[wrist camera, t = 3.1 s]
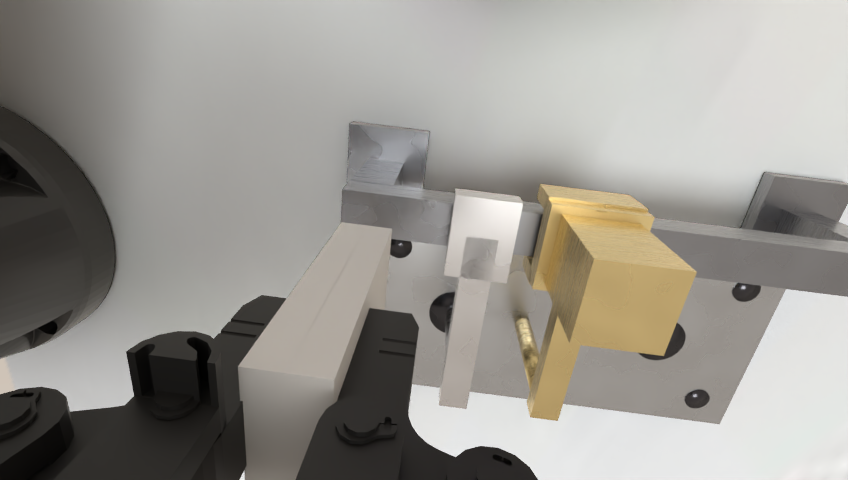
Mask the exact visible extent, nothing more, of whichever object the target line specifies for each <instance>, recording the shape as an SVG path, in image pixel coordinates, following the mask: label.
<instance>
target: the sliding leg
mask: <svg viewBox="0 0 848 480" xmlns="http://www.w3.org/2000/svg"><path fill="white" fill-rule="evenodd" d="M537 199H538V201H539V202H540V204H541V206H542V207H543V209H544V212H543V217H542V221H541V226H540V230H539V234H538V239H537V243H536V247H535V252H534V256H533V257H531V256H524V259H523V263H522V265H523V268H524V271H525V274H526V277H527V279H528V282H529V284H531V287H532V289H535V290H543V291H548V293H549V296H550V298H551V301H552V303H553V304H552V308H551V312H550V316H549V319H548V323H547V327H546V331H545V335H544V339H543V342H542V346H541V350H540V354H539V350H538V347H537V344H536V340H535V337H534V334H533V330H532V327H531V324H530V321H529V320H527V319H525V318H521V319H518V320H517V321H516V322H515V330H516V334H517V338H518V342H519V346H520V351H521V355H522V359H523V363H524V367H525V372H526V376H527V380H528V384H529V388H530V392H529V396H528V400H527V405H528V409H529V414H530V417H533V418H540V419H548V420H556V421H558V418H559V415H560V411H561V408H562V405H563V402H564V398H565V395H566V392H567V388H568V385H569V382H570V378H571V375H572V372H573V368H574V365H575V362H576V359H577V355H578V352H579V349H580V345H583V346H590V347H598V348H606V349H614V350H621V351H629V352H637V353H645V354H652V355H660V356H664V354H665V351H666V349H667V346H668V344H669V341H670V339H671V336H672V334H673V331H674V329H675V326H676V324H677V321H678V319H679V316H680V314H681V311H682V308H683V306H684V303H685V301H686V298H687V296H688V293H689V291H690V288H691V286H692V283H693V281H694V278H695V276H696V273H697V272H696V271H695V270H694V269H693V268H692V267H691V266H689V265H688V264H687V263H686V262H685V261H684V260H682V259H681V258H680V257H679V256H678V255H677V254H675V253H674V252H673V251H672V250H671V249H670V248H668V247H667V246H666V245H665V244H664V243H663V242H661V241H660V240H659V239H658V238H657V237H656V236H654V235H653V234H652V233H651V232H650V230H651V227H652V224H653V221H654V218H655V217H654V216H653V215H651V214H650V213H649V212H648V208H646V207H645V206H644V205H642V204H641V203H640V202H638V201H637V200H636V199H634V198H633V197H632V196H630V195H625V194H617V193H609V192H601V191H593V190H585V189H577V188H569V187H561V186H553V185H545V184H540V186H539V191H538V195H537Z"/></svg>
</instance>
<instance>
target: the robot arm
mask: <svg viewBox="0 0 848 480" xmlns="http://www.w3.org/2000/svg"><path fill="white" fill-rule="evenodd" d="M391 236H392V229H391V228H383V227H375V226H368V225H360V224H352V223H344V222H341V224H340V225H339V226H338V228H337V229H336V231H335V232H334V233H333V235H332V236H331V238H330V239H329V240H328V242H327V243H326V244H325V246H324V247H323V249H322V250H321V251H320V253H319V254H318V256H317V257H316V258H315V260H314V261H313V263H312V264H311V265H310V267H309V268H308V270H307V271H306V272H305V274H304V275H303V277H302V278H301V279H300V281H299V282H298V284H297V285H296V286H295V288H294V289H293V290H292V292H291V293H290V295H289V296H288V297H287V299H286V298H279V297H271V296H264V295H261V296H260V297H258V298H256V299H254V300H252V301H250V302H249V303H247V304H245V305H243V306H242V307H241V309H240V310H239V311H238V312H237V313H236V314H235V315H234V316H233V318H232V319H231V322H228V323H227V324H226V326H225V327H224V328H223V329H222V330H221V334H218V335H217V336H216V337H215V338H214V339H213V338H212V337H211V336H209V335H206V334H202V333H198V332H182V331H178V332H172V333H167V334H161V335H158V336H155V337H152V338H150V339H147V340H145V341H142V342H140V343H139V344H137V345H136V346H134V347H133V348H131V349H130V350H128V351H126V353H127V358H128V364H129V369H130V375H131V380H132V386H133V391H134V397H133V398H132V399H131V400H130V401H129V402H128V403H127V404H126V405H124V406H119V407H111V408H102V409H92V410H83V411H73V412H70V410H69V406H68V402H67V398H66V396H64V395H63V394H62V393H61V392H59V391H58V390H55V389H50V388H44V387H36V388H25V389H18V390H15V391H11V392H8V393H4V394H0V480H239V479H240V477H241V475H242V473H243V471H244V470H245V480H538V479H537V478H536V476H535V475H534V473H533V472H532V470H531V469H530V467H529V466H527V465H526V464H525V463H524V462H523V461H521V460H520V459H519V458H518V457H516V456H515V455H513V454H511V453H508V452H506V451H504V450H501V449H499V448H493V447H484V446H479V447H475V448H471V449H467V450H465V451H463V452H462V453H461V454H459V455H458V456H457V457H453V456H451V455H449V454H447V453H444V452H442V451H440V450H438V449H436V448H434V447H433V446H431V445H429V444H427V443H426V442H425V441H424V440H423V439H422V438H421V437H419V436H418V434H417V433H416V432H415V430H414V429H413V427H412V425H411V423H410V420H409V417H408V409H409V402H410V394H411V387H412V379H413V372H414V364H415V356H416V348H417V340H418V332H419V326H418V324H417V322H416V320H415V319H414V317H413V315H412V314H411V313H404V312H396V311H388V310H385V302H386V291H387V280H388V269H389V258H390V247H391ZM114 265H115V253H114V243H113V238H112V233H111V229H110V226H109V222H108V220H107V217H106V214H105V212H104V210H103V207H102V205H101V203H100V201H99V199H98V197H97V195H96V194H95V192H94V190H93V189H92V187H91V185H90V184H89V182H88V181H87V179H86V178H85V176H84V175H83V174H82V172H81V171H80V170H79V169H78V167H77V166H76V165H75V164H74V163H73V161H72V160H71V159H70V158H69V157H68V156H67V155H66V154H65V153H64V152H63V151H62V149H60V148H59V147H58V146H57V145H56V144H55V143H54V142H53V141H52V140H51V139H50V138H48V137H47V136H46V135H45V134H44V133H42V132H41V131H40V130H38V129H37V128H36V127H34V126H33V125H31V124H30V123H29V122H27V121H26V120H24V119H22V118H21V117H19V116H17V115H16V114H14V113H12V112H10V111H9V110H7V109H5V108H3V107H1V106H0V359H1V358H4V357H7V356H10V355H13V354H16V353H19V352H22V351H25V350H29V349H32V348H35V347H37V346H40V345H43V344H45V343H47V342H49V341H51V340H53V339H55V338H57V337H59V336H60V335H62V334H63V333H65V332H66V331H68V330H69V329H71V328H72V327H74V326H75V325H76V324H78V323H79V322H81V321H82V320H84V319H85V318H86V317H88V316H89V315H90V314H91V313H93V312H94V311H95V310H96V309H97V308H98V306H99V305H100V304H101V303H102V301H103V300H104V298H105V296H106V295H107V292H108V290H109V288H110V285H111V282H112V278H113V273H114Z"/></svg>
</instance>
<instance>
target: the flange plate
mask: <svg viewBox="0 0 848 480" xmlns="http://www.w3.org/2000/svg"><path fill="white" fill-rule="evenodd" d="M446 250H447V246H444V245H436V244H428V243H420V242H412V241H404V240H396V239H391V247H390V258H389V269H388V280H387V291H386V302H385V310H388V311H396V312H404V313H411V314H412V315H413V317H414V319H415V320H416V322H417V324H418V326H419V332H418V340H417V348H416V356H415V364H414V372H413V379H412V384H416V385H424V386H432V387H439V388H440V384H441V378H442V372H443V365H444V357H445V317H446V313H447V312H448V311H449V310H452V309H453V303H454V296H455V290H456V284H457V278H458V277H452V276H444V264H445V257H446ZM523 259H524V256H523V255H515V254H513V255H512V260H511V265H510V269H509V274H508V279H507V283H499V282H491V283H490V289H489V294H488V299H487V304H486V309H485V314H484V320H483V325H482V330H481V335H480V340H479V345H478V351H477V356H476V361H475V366H474V371H473V376H472V382H471V387H470V392H478V393H485V394H493V395H501V396H508V397H516V398H524V399H528V396H529V392H530V388H529V384H528V380H527V376H526V372H525V367H524V363H523V359H522V355H521V351H520V346H519V342H518V338H517V334H516V330H515V322H516V321H517V320H518V319H521V318H525V319H527V320H529V321H530V324H531V327H532V330H533V334H534V337H535V340H536V344H537V347H538V350H539V354H540V350H541V346H542V342H543V339H544V335H545V331H546V327H547V323H548V319H549V316H550V312H551V308H552V304H553V303H552V301H551V298H550V296H549V293H548V291H543V290H535V289H532V287H531V284H529V282H528V279H527V277H526V274H525V271H524V268H523V265H522V263H523ZM785 290H786V289H783V288H775V287H768V286H760V285H752V284H744V283H736V282H728V281H720V280H712V279H704V278H696V277H695V278H694V281H693V283H692V286H691V288H690V291H689V293H688V296H687V298H686V301H685V303H684V306H683V308H682V311H681V314H680V316H679V319H678V321H677V324H676V326H675V329H674V331H673V334H672V336H671V339H670V341H669V344H668V346H667V349H666V351H665V354H664V356H660V355H652V354H645V353H637V352H629V351H621V350H614V349H606V348H598V347H590V346H583V345H580V349H579V352H578V355H577V359H576V362H575V365H574V368H573V372H572V375H571V378H570V382H569V385H568V388H567V392H566V395H565V398H564V402H563V404H570V405H577V406H585V407H593V408H600V409H608V410H616V411H623V412H631V413H638V414H646V415H654V416H661V417H669V418H677V419H684V420H692V421H700V422H707V423H715V424H720V422H721V420H722V418H723V416H724V414H725V412H726V410H727V408H728V406H729V404H730V401H731V399H732V397H733V395H734V393H735V391H736V389H737V387H738V385H739V383H740V381H741V379H742V377H743V375H744V373H745V371H746V369H747V367H748V365H749V363H750V361H751V359H752V357H753V355H754V353H755V351H756V349H757V347H758V345H759V343H760V341H761V339H762V337H763V335H764V332H765V330H766V328H767V326H768V324H769V322H770V320H771V318H772V316H773V314H774V312H775V310H776V308H777V306H778V304H779V302H780V300H781V298H782V296H783V294H784V292H785Z"/></svg>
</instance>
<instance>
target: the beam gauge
mask: <svg viewBox="0 0 848 480" xmlns="http://www.w3.org/2000/svg"><path fill="white" fill-rule="evenodd" d="M429 133H430V131H426V130H418V129H410V128H402V127H393V126H385V125H377V124H369V123H361V122H351V123H350V124H349V146H348V169H347V185H346V186H345V187H344V188H343V189H342V209H341V222H344V223H352V224H360V225H368V226H375V227H383V228H391V229H392V236H391V239H396V240H404V241H412V242H420V243H428V244H436V245H444V246H447V250H446V257H445V264H444V276H452V277H458V278H457V284H456V290H455V296H454V303H453V309H452V310H449V311H448V312H447V313H446V317H445V357H444V365H443V372H442V378H441V384H440V391H439V405H441V406H449V407H456V408H464V409H466V408H467V402H468V397H469V392H470V387H471V382H472V376H473V371H474V366H475V361H476V356H477V351H478V345H479V340H480V335H481V330H482V325H483V320H484V314H485V309H486V304H487V299H488V294H489V289H490V283H491V282H499V283H507V279H508V274H509V269H510V265H511V260H512V255H513V254H515V255H523V256H531V257H533V256H534V252H535V247H536V243H537V239H538V234H539V230H540V226H541V221H542V217H543V212H544V209H543V207H542V206H541V204H540V203H533V202H525V201H522V200H521V198H520V196H514V195H506V194H498V193H490V192H482V191H474V190H466V189H458V188H455V193H453V192H445V191H437V190H429V189H423V186H424V177H425V168H426V160H427V151H428V142H429ZM847 204H848V183H845V182H839V181H831V180H823V179H815V178H807V177H799V176H791V175H783V174H774V173H766V172H764V174H763V177H762V179H761V181H760V184H759V186H758V188H757V191H756V193H755V196H754V198H753V200H752V203H751V205H750V207H749V210H748V212H747V215H746V217H745V219H744V222H743V224H742V226H741V228H733V227H725V226H717V225H709V224H701V223H693V222H685V221H677V220H669V219H661V218H654V221H653V224H652V227H651V230H650V232H651V233H652V234H653V235H654V236H656V237H657V238H658V239H659V240H660V241H661V242H663V243H664V244H665V245H666V246H667V247H668V248H670V249H671V250H672V251H673V252H674V253H675V254H677V255H678V256H679V257H680V258H681V259H682V260H684V261H685V262H686V263H687V264H688V265H689V266H691V267H692V268H693V269H694V270H695V271H696V272H697V273H696V276H695V277H696V278H704V279H712V280H720V281H728V282H736V283H744V284H752V285H760V286H768V287H775V288H783V289H791V290H799V291H807V292H815V293H823V294H831V295H839V296H847V297H848V226H847V225H845V224H842V223H840V222H838V221H839V220H840V218H841V216H842V214H843V212H844V210H845V208H846V206H847Z"/></svg>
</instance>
